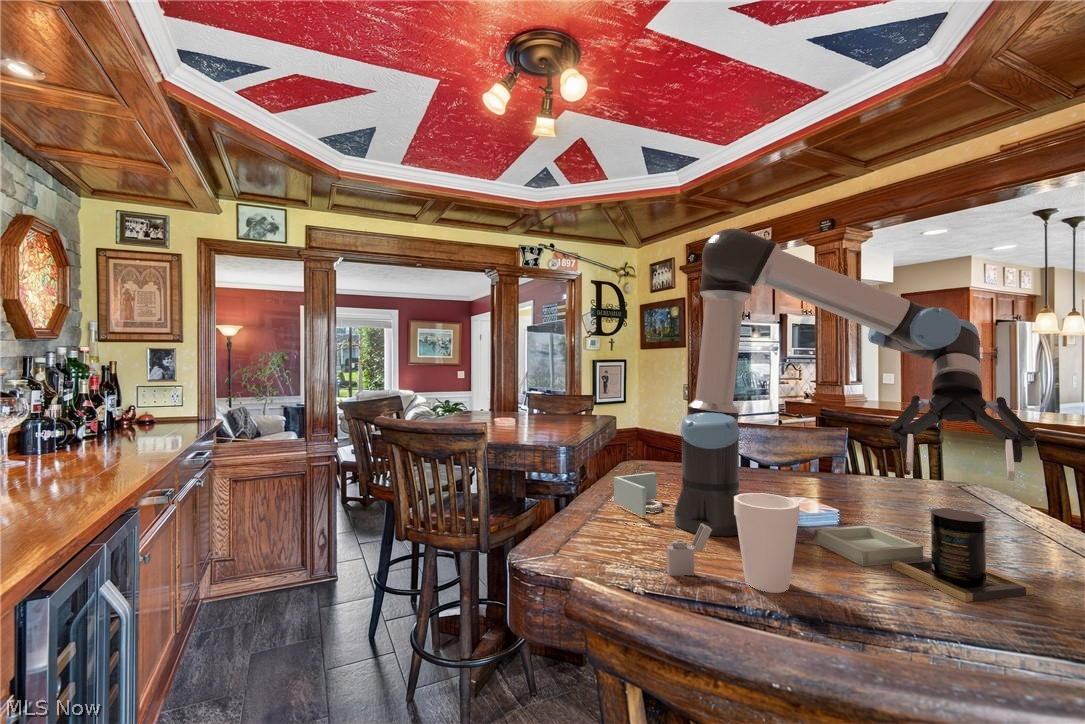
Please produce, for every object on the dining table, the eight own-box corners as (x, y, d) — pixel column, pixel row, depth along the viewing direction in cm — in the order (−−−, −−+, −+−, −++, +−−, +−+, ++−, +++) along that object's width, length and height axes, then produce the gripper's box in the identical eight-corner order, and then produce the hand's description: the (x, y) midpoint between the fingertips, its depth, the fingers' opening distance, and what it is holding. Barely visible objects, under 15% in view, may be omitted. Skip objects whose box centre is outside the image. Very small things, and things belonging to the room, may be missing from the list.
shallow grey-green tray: (863, 566, 84) (862, 551, 84) (814, 542, 95) (814, 529, 95) (923, 560, 86) (922, 546, 86) (868, 538, 97) (868, 525, 97)
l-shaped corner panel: (642, 521, 111) (642, 487, 111) (614, 507, 122) (613, 477, 122) (685, 514, 116) (685, 482, 116) (654, 501, 127) (653, 472, 127)
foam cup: (724, 572, 82) (723, 493, 82) (777, 569, 83) (776, 492, 83) (753, 599, 72) (752, 510, 73) (813, 596, 73) (812, 508, 73)
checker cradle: (965, 602, 71) (965, 593, 71) (892, 568, 83) (892, 561, 83) (1032, 594, 73) (1032, 586, 73) (952, 562, 85) (952, 555, 85)
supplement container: (994, 594, 73) (993, 523, 73) (937, 585, 76) (936, 517, 76) (978, 576, 79) (977, 511, 80) (926, 569, 82) (925, 506, 83)
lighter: (669, 575, 81) (669, 526, 81) (666, 571, 82) (666, 523, 82) (712, 575, 81) (712, 526, 81) (708, 570, 83) (708, 522, 83)
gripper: (1044, 396, 92) (1058, 493, 80) (882, 393, 108) (875, 474, 96) (1047, 367, 88) (1062, 466, 76) (878, 369, 104) (870, 451, 93)
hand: (957, 471), depth 86 cm, fingers open, 13 cm apart
